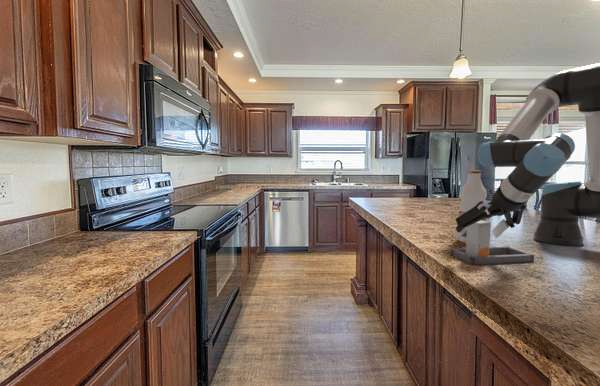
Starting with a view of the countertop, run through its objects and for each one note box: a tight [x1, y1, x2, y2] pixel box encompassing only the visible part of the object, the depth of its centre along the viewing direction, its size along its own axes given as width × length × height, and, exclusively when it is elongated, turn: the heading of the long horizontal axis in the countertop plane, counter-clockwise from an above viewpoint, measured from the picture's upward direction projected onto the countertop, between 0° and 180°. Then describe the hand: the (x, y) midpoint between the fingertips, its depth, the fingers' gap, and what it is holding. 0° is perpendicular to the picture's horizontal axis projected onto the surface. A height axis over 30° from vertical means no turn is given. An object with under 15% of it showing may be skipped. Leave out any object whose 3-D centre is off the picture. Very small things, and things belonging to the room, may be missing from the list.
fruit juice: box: [458, 169, 488, 244], centre depth 126 cm, size 9×9×28 cm
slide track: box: [450, 245, 535, 266], centre depth 105 cm, size 21×11×2 cm, turn 97°
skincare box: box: [465, 220, 492, 257], centre depth 104 cm, size 6×4×12 cm
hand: (475, 235), depth 105 cm, fingers open, 13 cm apart
